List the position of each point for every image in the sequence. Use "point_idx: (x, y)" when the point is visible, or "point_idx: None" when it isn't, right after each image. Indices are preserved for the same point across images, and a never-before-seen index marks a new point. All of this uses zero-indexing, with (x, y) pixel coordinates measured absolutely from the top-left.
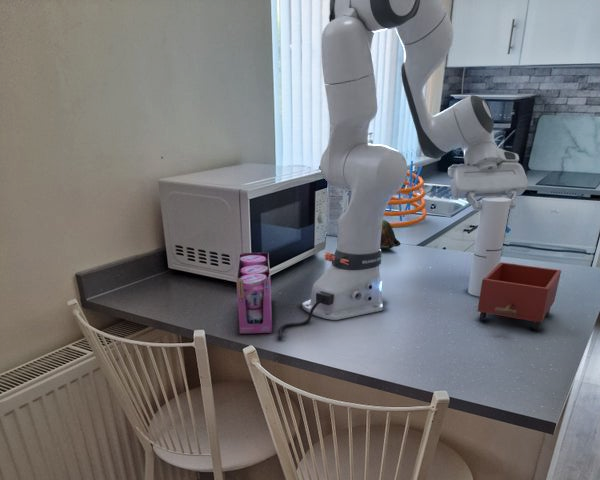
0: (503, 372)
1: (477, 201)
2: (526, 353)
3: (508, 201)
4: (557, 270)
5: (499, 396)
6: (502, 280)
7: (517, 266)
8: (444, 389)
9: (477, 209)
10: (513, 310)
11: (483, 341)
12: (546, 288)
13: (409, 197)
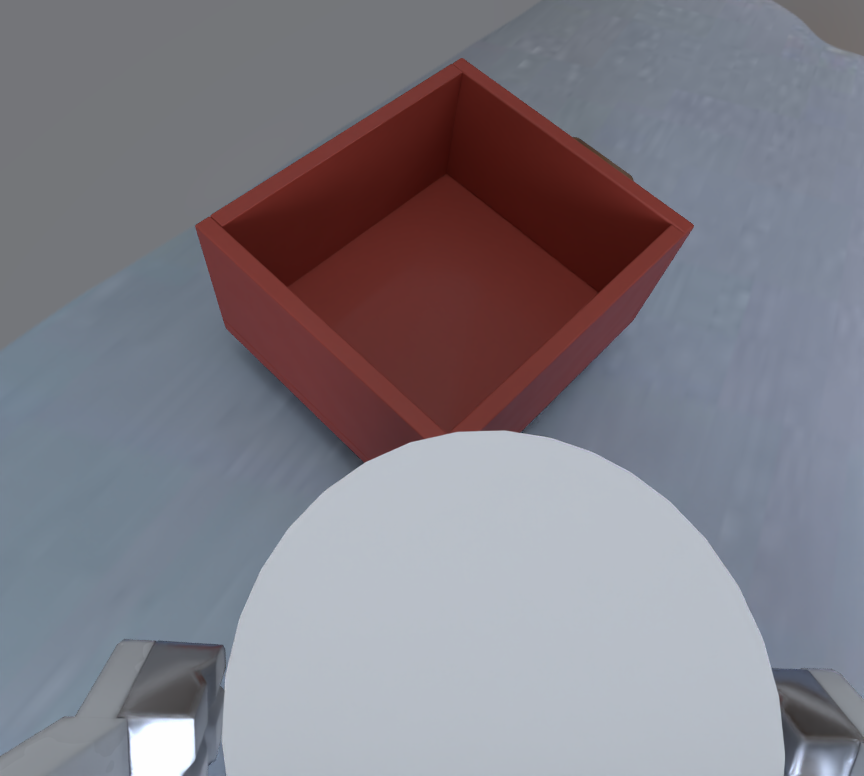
0: (664, 68)
1: (859, 741)
2: None
3: (384, 459)
4: (220, 227)
5: (715, 4)
6: None
7: (378, 374)
8: (829, 52)
9: None
10: (579, 140)
11: None
12: (466, 63)
13: None
